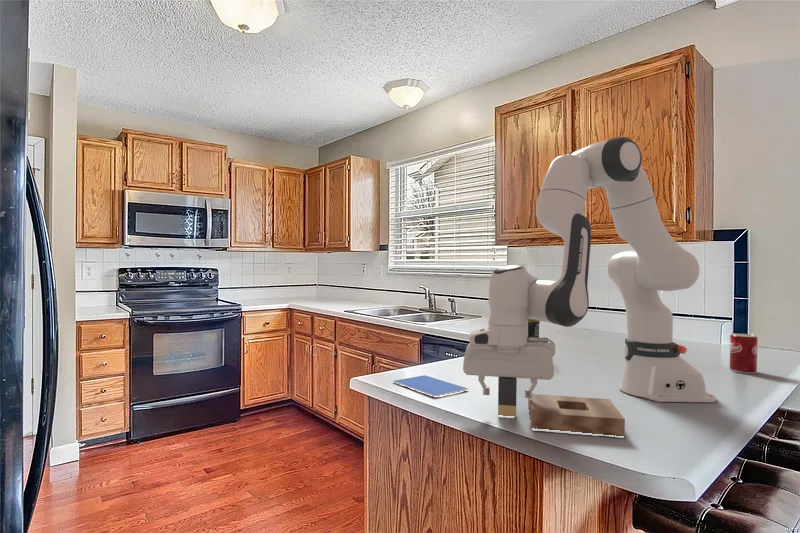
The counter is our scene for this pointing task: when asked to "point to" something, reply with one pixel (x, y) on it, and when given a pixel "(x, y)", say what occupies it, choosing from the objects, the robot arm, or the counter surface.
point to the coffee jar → (533, 328)
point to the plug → (507, 396)
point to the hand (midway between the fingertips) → (507, 396)
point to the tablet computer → (430, 385)
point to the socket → (575, 414)
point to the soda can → (743, 353)
